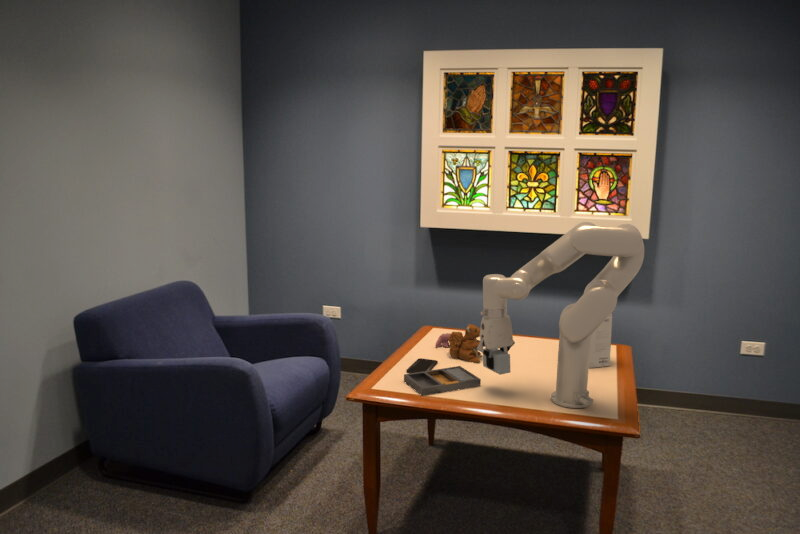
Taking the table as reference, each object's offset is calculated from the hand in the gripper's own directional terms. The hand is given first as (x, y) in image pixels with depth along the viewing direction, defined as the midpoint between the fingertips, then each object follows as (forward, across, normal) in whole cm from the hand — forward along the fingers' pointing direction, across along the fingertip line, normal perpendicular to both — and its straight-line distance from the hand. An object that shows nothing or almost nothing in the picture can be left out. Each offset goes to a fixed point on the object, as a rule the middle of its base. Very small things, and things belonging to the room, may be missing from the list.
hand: (496, 366), depth 203 cm
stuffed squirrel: (+8, +8, +34) cm, 36 cm away
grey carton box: (+11, +46, +9) cm, 48 cm away
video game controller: (+7, +8, +46) cm, 48 cm away
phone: (+7, -12, +30) cm, 34 cm away
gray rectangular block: (+1, 0, 0) cm, 1 cm away
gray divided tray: (+7, -14, +13) cm, 20 cm away
